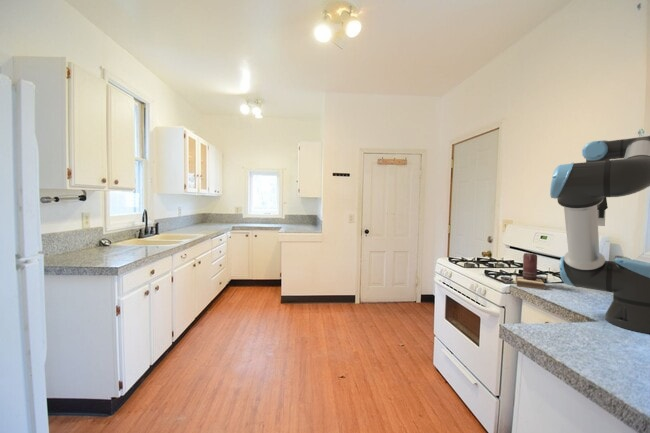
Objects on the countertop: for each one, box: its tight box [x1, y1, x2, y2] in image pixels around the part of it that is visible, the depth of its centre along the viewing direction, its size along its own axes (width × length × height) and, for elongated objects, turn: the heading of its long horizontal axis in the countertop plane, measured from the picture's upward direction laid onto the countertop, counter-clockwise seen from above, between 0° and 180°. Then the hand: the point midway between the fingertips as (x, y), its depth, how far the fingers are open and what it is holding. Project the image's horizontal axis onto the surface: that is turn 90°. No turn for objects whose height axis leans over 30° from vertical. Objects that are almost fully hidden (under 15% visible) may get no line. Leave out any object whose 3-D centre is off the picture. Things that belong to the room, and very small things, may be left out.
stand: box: [515, 276, 546, 291], centre depth 151 cm, size 12×12×3 cm
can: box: [522, 252, 538, 280], centre depth 152 cm, size 6×6×14 cm
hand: (595, 225), depth 123 cm, fingers open, 13 cm apart
